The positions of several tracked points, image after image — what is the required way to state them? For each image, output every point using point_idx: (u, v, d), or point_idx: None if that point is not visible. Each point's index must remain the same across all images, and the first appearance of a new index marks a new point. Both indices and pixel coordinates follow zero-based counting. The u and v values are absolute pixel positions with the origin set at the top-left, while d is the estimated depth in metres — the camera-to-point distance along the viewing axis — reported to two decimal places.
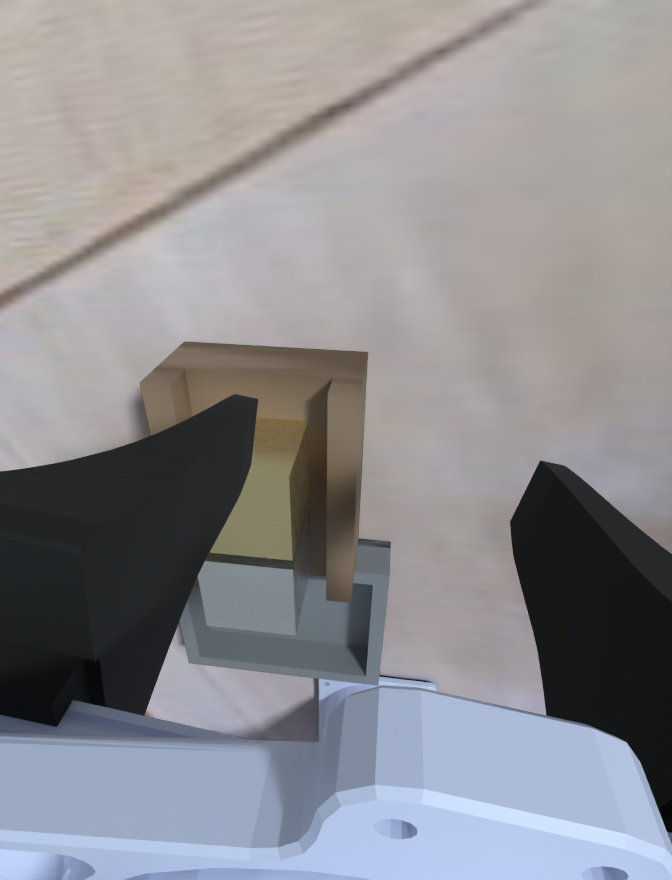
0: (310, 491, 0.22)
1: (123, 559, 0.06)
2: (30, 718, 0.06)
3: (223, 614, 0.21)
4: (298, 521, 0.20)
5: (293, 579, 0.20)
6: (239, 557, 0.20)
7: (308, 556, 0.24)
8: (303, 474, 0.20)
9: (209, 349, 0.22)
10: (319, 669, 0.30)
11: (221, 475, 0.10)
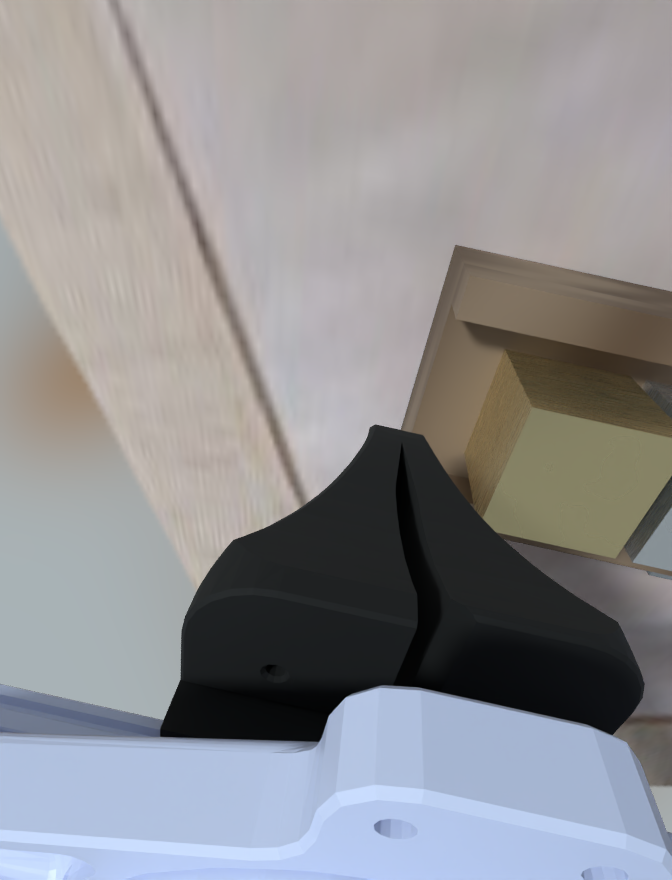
0: (620, 372, 0.15)
1: None
2: (30, 718, 0.06)
3: None
4: (638, 409, 0.13)
5: None
6: (657, 507, 0.13)
7: None
8: (572, 378, 0.14)
9: (404, 427, 0.20)
10: None
11: None
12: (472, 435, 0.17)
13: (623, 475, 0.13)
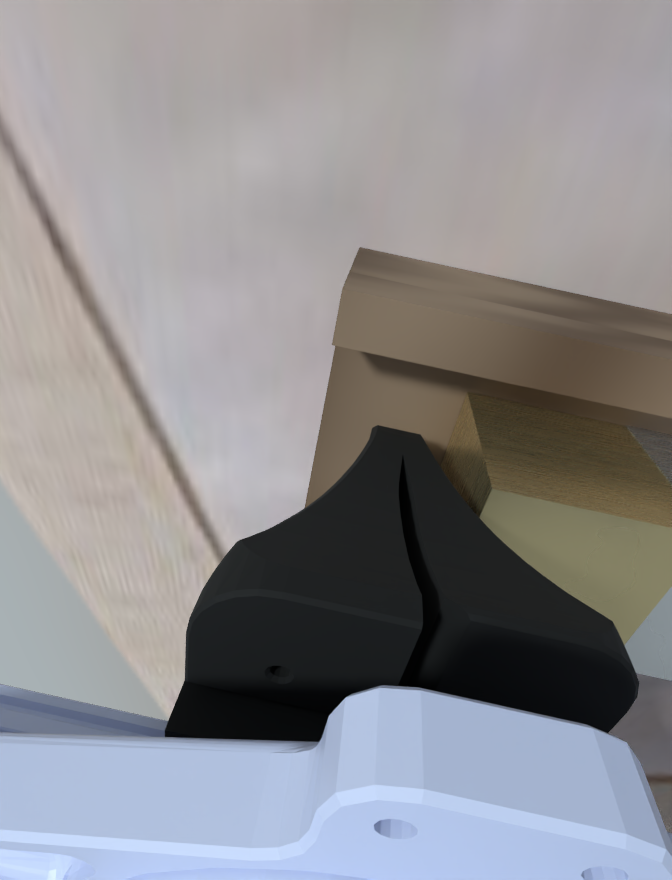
0: (557, 407, 0.12)
1: None
2: (30, 718, 0.06)
3: None
4: (635, 481, 0.10)
5: None
6: None
7: None
8: (551, 434, 0.11)
9: None
10: None
11: None
12: None
13: (616, 573, 0.09)
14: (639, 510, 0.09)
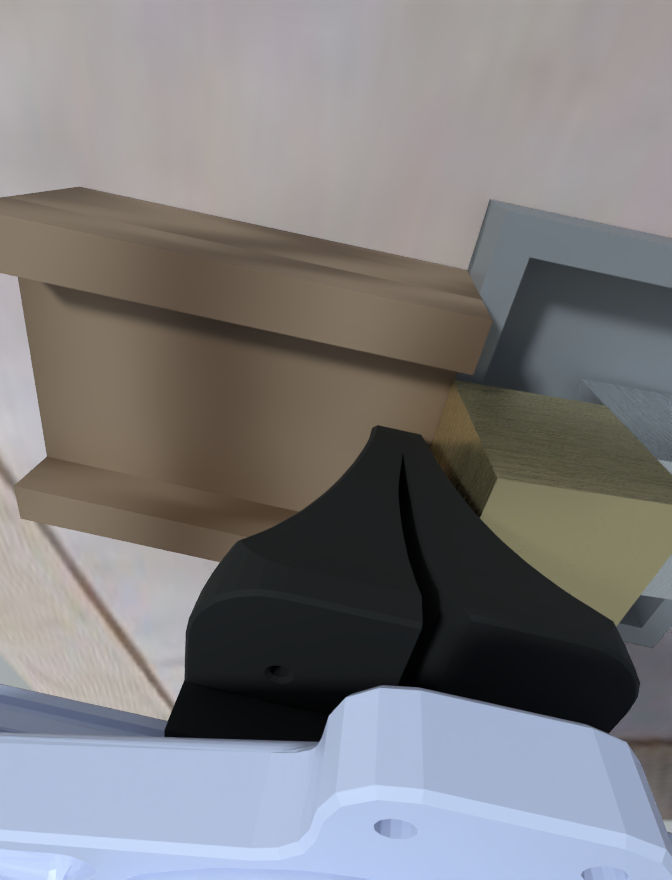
0: (242, 340, 0.12)
1: None
2: (30, 718, 0.06)
3: None
4: (627, 460, 0.10)
5: None
6: None
7: (619, 403, 0.13)
8: (540, 418, 0.11)
9: None
10: None
11: None
12: None
13: (615, 552, 0.10)
14: (636, 489, 0.09)
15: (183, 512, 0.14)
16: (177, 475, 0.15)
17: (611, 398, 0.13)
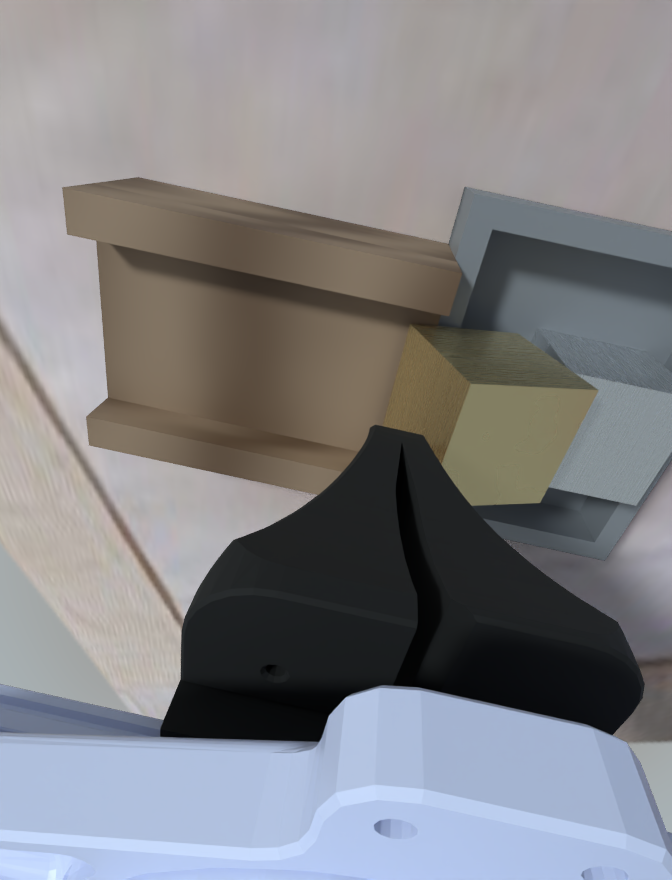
0: (272, 295, 0.16)
1: None
2: (30, 718, 0.06)
3: None
4: (544, 366, 0.14)
5: None
6: (650, 461, 0.15)
7: (561, 343, 0.17)
8: (480, 344, 0.15)
9: None
10: None
11: None
12: (388, 413, 0.17)
13: (546, 429, 0.14)
14: (555, 382, 0.13)
15: (221, 439, 0.17)
16: (214, 411, 0.18)
17: (557, 340, 0.17)
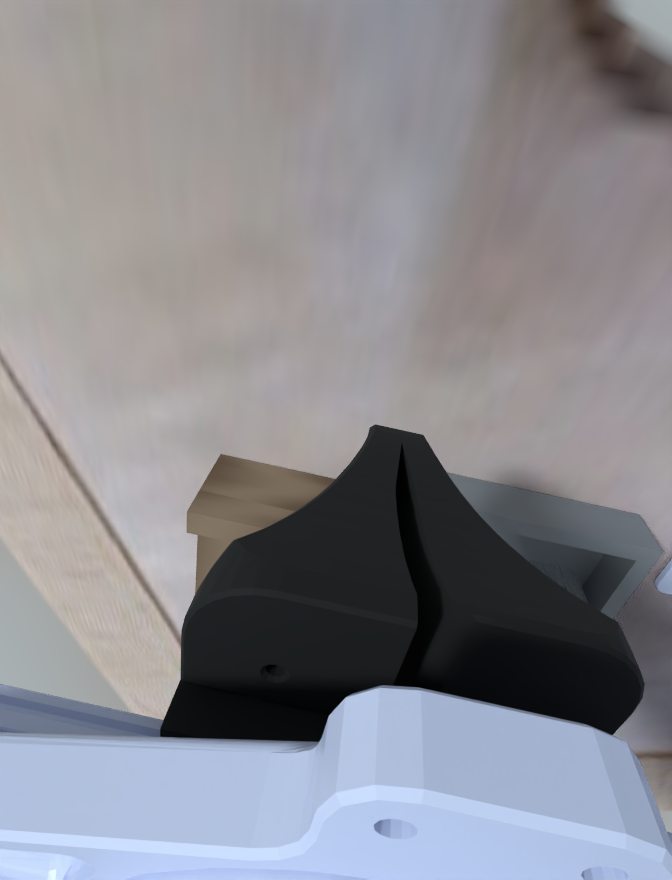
0: None
1: None
2: (30, 718, 0.06)
3: None
4: None
5: None
6: None
7: None
8: None
9: None
10: (605, 601, 0.23)
11: None
12: None
13: None
14: None
15: None
16: None
17: None
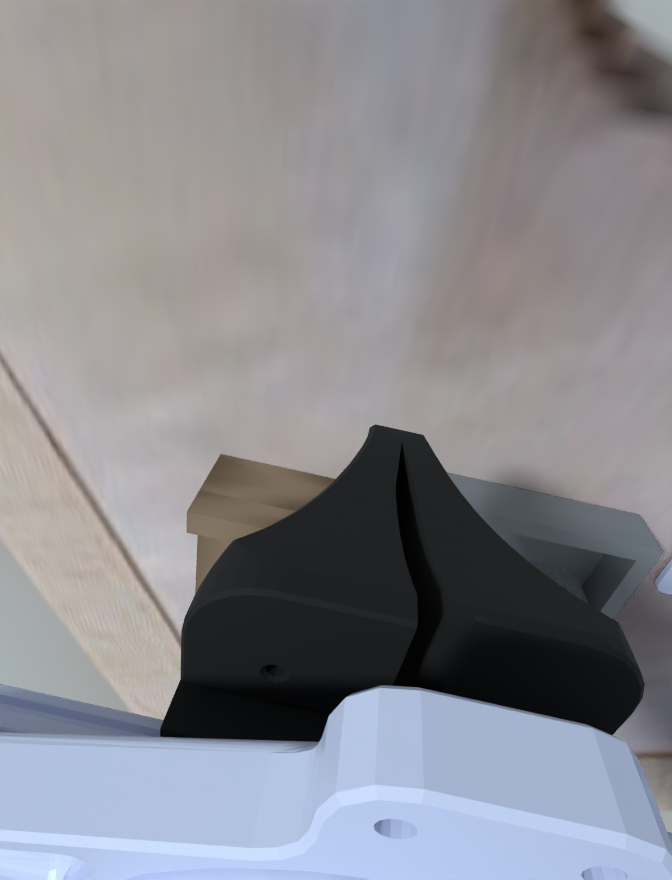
0: None
1: None
2: (30, 718, 0.06)
3: None
4: None
5: None
6: None
7: None
8: None
9: None
10: (605, 601, 0.23)
11: None
12: None
13: None
14: None
15: None
16: None
17: None
